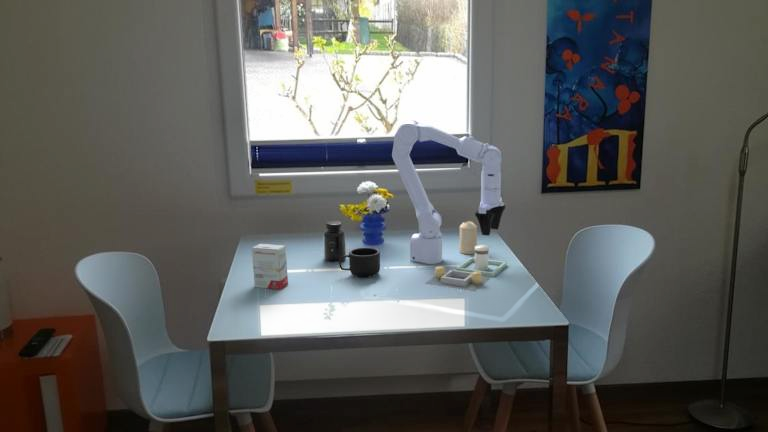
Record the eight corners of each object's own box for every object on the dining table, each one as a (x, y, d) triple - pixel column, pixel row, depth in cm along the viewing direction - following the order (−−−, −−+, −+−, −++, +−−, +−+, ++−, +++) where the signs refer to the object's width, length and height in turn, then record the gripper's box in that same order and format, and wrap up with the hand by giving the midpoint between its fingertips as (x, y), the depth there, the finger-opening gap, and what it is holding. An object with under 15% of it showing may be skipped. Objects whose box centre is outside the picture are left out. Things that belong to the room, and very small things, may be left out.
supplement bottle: (320, 261, 223) (319, 224, 220) (330, 255, 229) (328, 219, 226) (340, 263, 220) (338, 226, 217) (349, 257, 226) (348, 220, 224)
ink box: (289, 284, 202) (286, 244, 199) (281, 290, 198) (278, 249, 195) (262, 281, 205) (259, 242, 202) (253, 287, 200) (251, 247, 198)
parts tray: (455, 274, 208) (455, 268, 207) (470, 263, 218) (470, 257, 217) (493, 280, 202) (493, 273, 202) (506, 268, 212) (506, 262, 212)
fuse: (472, 270, 209) (472, 248, 207) (476, 266, 212) (477, 244, 211) (485, 272, 207) (486, 249, 205) (490, 268, 211) (490, 245, 209)
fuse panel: (424, 286, 198) (424, 272, 197) (442, 274, 208) (442, 261, 207) (475, 294, 191) (475, 280, 190) (490, 281, 201) (491, 267, 200)
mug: (377, 268, 214) (376, 246, 213) (382, 278, 206) (382, 254, 204) (338, 272, 212) (337, 249, 211) (341, 281, 204) (340, 258, 202)
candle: (476, 254, 226) (476, 224, 224) (458, 254, 227) (458, 223, 225) (477, 249, 232) (477, 220, 229) (460, 249, 233) (460, 219, 230)
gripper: (495, 193, 202) (494, 239, 205) (511, 184, 214) (510, 227, 218) (472, 191, 205) (471, 236, 209) (489, 182, 218) (489, 225, 221)
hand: (490, 231), depth 213 cm, fingers open, 7 cm apart
